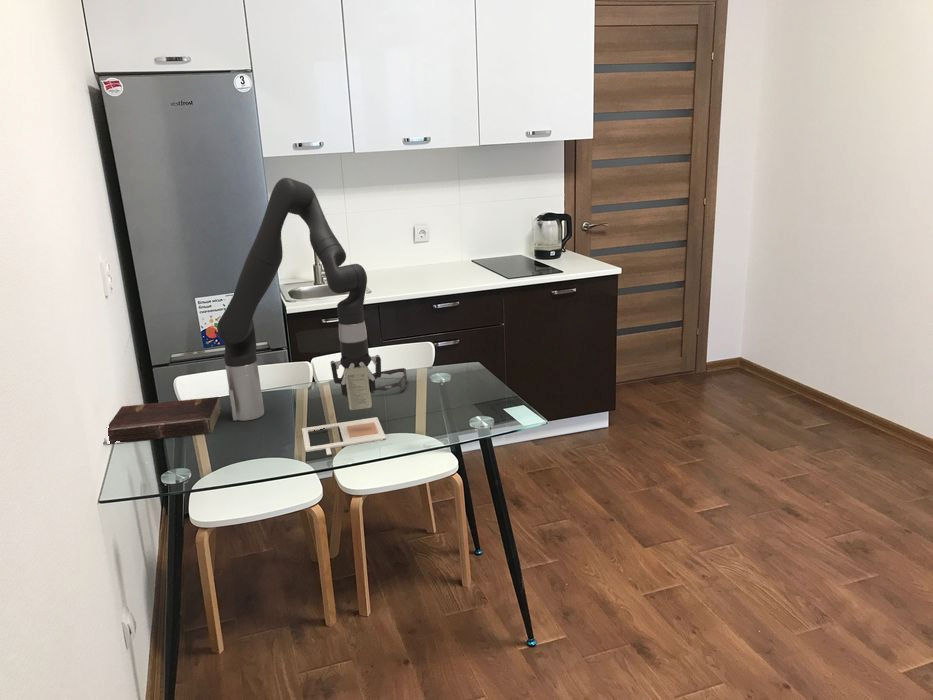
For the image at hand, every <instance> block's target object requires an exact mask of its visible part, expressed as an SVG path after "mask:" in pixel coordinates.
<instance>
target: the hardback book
mask: <svg viewBox="0 0 933 700" xmlns="http://www.w3.org/2000/svg"><path fill="white" fill-rule="evenodd" d="M220 409H221V410H222V408H221V401H220V397H219V396H212V397H204V398H203V397H202V398H194V399H193V398H192V399H181V400H173V401H162V402H153V403H144V404H143V403H142V404H134V405H133V404H132V405H124V406H123V405H122V406H121V407H120V408H119V410H118V411H117V412H116V414H115V415H114V417H113V418H112V420H111V421H110V422H109V424H108V425H109V428H108V436H109V441H110V444H109V445H115V444H114V443H115V442H116V441H120V442H127V443H134V442H136V443H137V442H143V441H152V440H162V439H164V440H165V439H170V438H169V437H173V438H176V437H175V436H182V435H191V436H200V435H207V434H212V433H213V431H214V428H215V425H216V424H217V421H218V419H219V417H220V414H221V412H220ZM219 413H220V414H219ZM182 437H183V436H182Z"/></svg>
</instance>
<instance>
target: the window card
mask: <svg viewBox="0 0 933 700" xmlns="http://www.w3.org/2000/svg"><path fill="white" fill-rule="evenodd" d="M323 428H325V429H323ZM335 428H339V431H340V434H341V438H342V441H337V442H333V443H331V442H330V443H325V444H319V445H313V446H311V443H310V442H311V441H310V436H309V432H315V431H321V430H320V429H323V430H329V429H335ZM314 430H315V431H314ZM301 431H302V439H303V446H304V450H305V451H304V452H305V453H309V452H315V451H323V450H325V452H326V455H327V456H330V455H332V450H331V449H335V448H340V447H341V448H342V447H349V446H353V445H354V446H355V445H359V444H360V445H361V444H366V443H367V444H368V443H373V442H379V441H378V440H380V441H382V440H381V439H384V438H385V437H386V434H385V432H384V430H383V427H382V424H381V423H380V421H379V418H378V416H377V417H370V418H362V419H355V420H349V421H343V422H336V423H328V424H322V425H316V426H309V427H308V426H307V427H302V428H301Z"/></svg>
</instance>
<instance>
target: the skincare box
mask: <svg viewBox="0 0 933 700" xmlns="http://www.w3.org/2000/svg"><path fill="white" fill-rule="evenodd" d="M343 372H344V373H345V374H346V372H347V373H348V377H345V380H346V387H347V395H348V397H347V400H348V407H349V410H350V411H352V410H363V409H370V408H372V405H373V403H372V401H373V400H372V393H371V392H370V384H369V379H370V378H369V377H368V375H367V366H364V367H361V366H359V367H354V368H353V369H348V368H344V367H343Z"/></svg>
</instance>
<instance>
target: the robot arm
mask: <svg viewBox="0 0 933 700" xmlns="http://www.w3.org/2000/svg"><path fill="white" fill-rule="evenodd" d="M288 214H292V215H295V216H299V217H300V218H301V219H302V220H303V221H304V223H305V224H306V226H307V227H308V230H309V241H310V246H311V248H312V250H313V251H314V253H315V254H316V256H317V258H318V259H319V261H320V263H321V264H322V268H323V272H324V275H325V278H326V283H327V286H328V288H329V290H331V291H332V292H333V293H335V294H339V295H340V294H341V295H342V294H344V293H345V294H346V293H348V296H347V297H345V298H344V299H342V300H340V301H339V302H338V303H337V305H336V310H337V318H338V319H337V320H338V339H339V345H340V346H339V347H340V348H339V349H340V357H341V358H340V360H336V361H334V360H331V361H330V368H331V373H332V378H333V382H334V383H335V384H338V385H340V389H341V395H342V396H344V397H345V398H348V394H347V387H346V380H345V377H348V373H347V372H346V374H345V373H344V371H343V372H342V375H341V377H339V375H338V370H339V369H340V366H342V367H343V369H344V368H348V369H353V368H354V367H359V366H361V367H364V366H367V375H368V377H369V384H370V392H371V394H374V392H375V391H377V390H376V388H377V387H376V380H377V379H378V378H381V377H382V374H381V372H382V359H381V357H380V355H379V354H376V355H373V356H371V355H370V351H369V343H368V333H367V327H366V323H365V322H366V321H365V311H364V303H365V297H366V291H367V285H368V276H367V272H366V270H365V268H364V267H363V266H362V265H360V264H359V263H351V264H347V265H343V264H344V263H345V261H346V259H347V253H346V251H345V249H344V248H343V246H342V245H341V243H340V241H339V240H338V238H337V237H336V235H335V234H334V232H333V230H332V228H331V227H330V225H329V223H328V221H327V219H326V216H325V213H324V211H323V210H322V207H321V204H320V202H319V199H318V197H317V194H316V193H315V191H314V189H313V187H311V186H310V185H309V184H307V183H305V182H302V181H299V180H296V179H293V178H289V177H282V178H281V179H279V180H278V181H277V182H276V183H275V185H274V187H273V189H272V191H271V194H270V196H269V200H268V202H267V206H266V209H265V212H264V215H263V218H262V221H261V224H260V226H259V229H258V230H257V234H256V237H255V239H254V241H253V243H252V246H251V248H250V250H249V251H248V253H247V257H246V259H245V261H244V264H243V267H242V269H241V271H240V274H239V276H238V279H237V283H236V286H235V289H234V292H233V294H232V297H231V299H230V301H229V303H228V305H227V307H226V309H225V310H224V312H223V314H222V315H221V317H220V318H219V319H218V322H217V325H216V330H217V335H218V337H219V339H220V340H221V341H222V342H224V354H223V360H224V366H225V372H226V377H227V385H228V397H229V403H230V409H231V414H232V415H231V416H232V420H233V421H243V422H245V421H252V420H256V419H259V418H261V417H263V416H264V415H265V406H264V402H263V401H264V399H263V393H262V388H261V386H262V385H261V382H260V381H261V380H260V379H261V378H260V373H259V367H258V359H257V340H256V339H257V337H256V330H255V323H254V320H253V318H254V315H255V312H256V310H257V308H258V306H259V303H260V302H261V300H262V299H263V297H264V295H265V294H266V293H267V291H268V289H269V288H270V286H271V284H272V283H273V281H274V280H275V277H276V275H277V273H278V270H279V269H280V266H281V264H282V261H283V257H284V256H283V253H284V252H283V242H282V240H283V239H282V230H283V226H284V225H285V221H286V218H287V216H288ZM371 362H372V363H373V365H374V366H375V369H374V370H375V372H374V373H373V372H372V371H371V369H370V368H369V365H370V363H371Z"/></svg>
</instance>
